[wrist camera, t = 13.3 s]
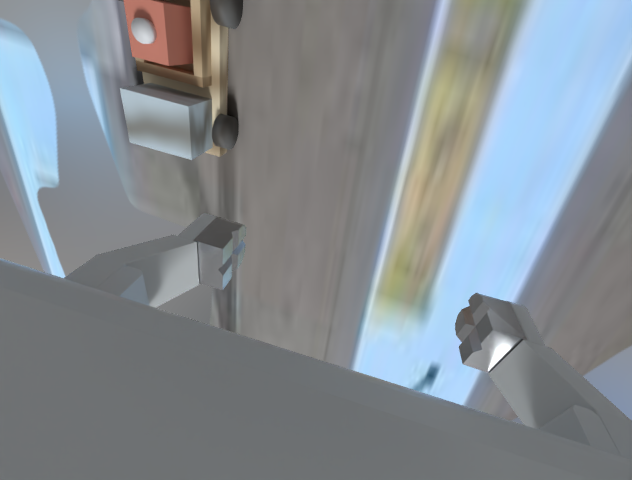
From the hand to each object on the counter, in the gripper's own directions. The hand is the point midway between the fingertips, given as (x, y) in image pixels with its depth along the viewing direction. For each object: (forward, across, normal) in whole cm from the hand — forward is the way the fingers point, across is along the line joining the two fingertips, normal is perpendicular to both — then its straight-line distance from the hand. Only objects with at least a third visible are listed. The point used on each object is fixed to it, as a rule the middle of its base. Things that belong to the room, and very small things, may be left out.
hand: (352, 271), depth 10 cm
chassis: (+29, +24, 0) cm, 38 cm away
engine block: (+27, +24, -3) cm, 36 cm away
